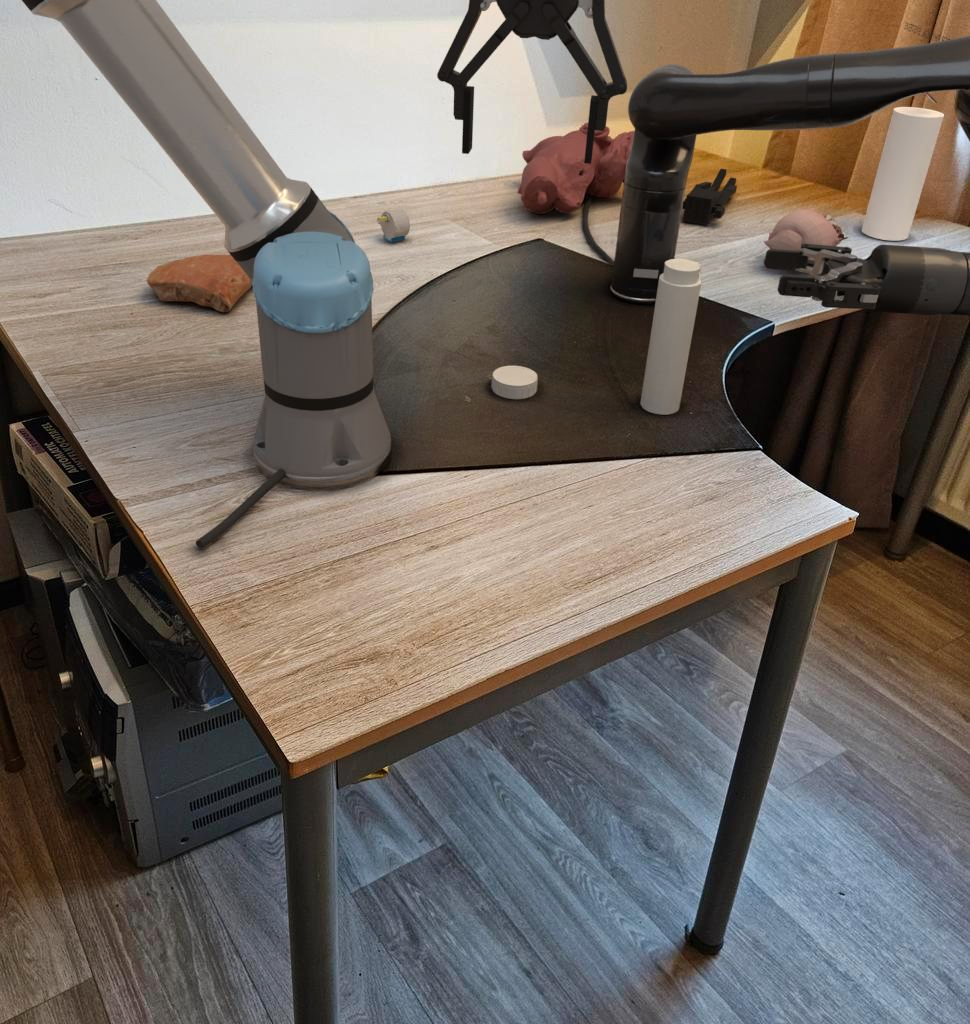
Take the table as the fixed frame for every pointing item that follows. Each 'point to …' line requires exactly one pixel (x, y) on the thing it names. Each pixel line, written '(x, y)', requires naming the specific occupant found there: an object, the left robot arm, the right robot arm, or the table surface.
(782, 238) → the toy
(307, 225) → the left robot arm
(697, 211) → the toy
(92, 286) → the table surface
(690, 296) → the jar
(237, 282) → the ceramic shard
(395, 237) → the electric motor
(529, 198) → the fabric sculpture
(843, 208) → the table surface
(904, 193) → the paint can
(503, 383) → the lid
